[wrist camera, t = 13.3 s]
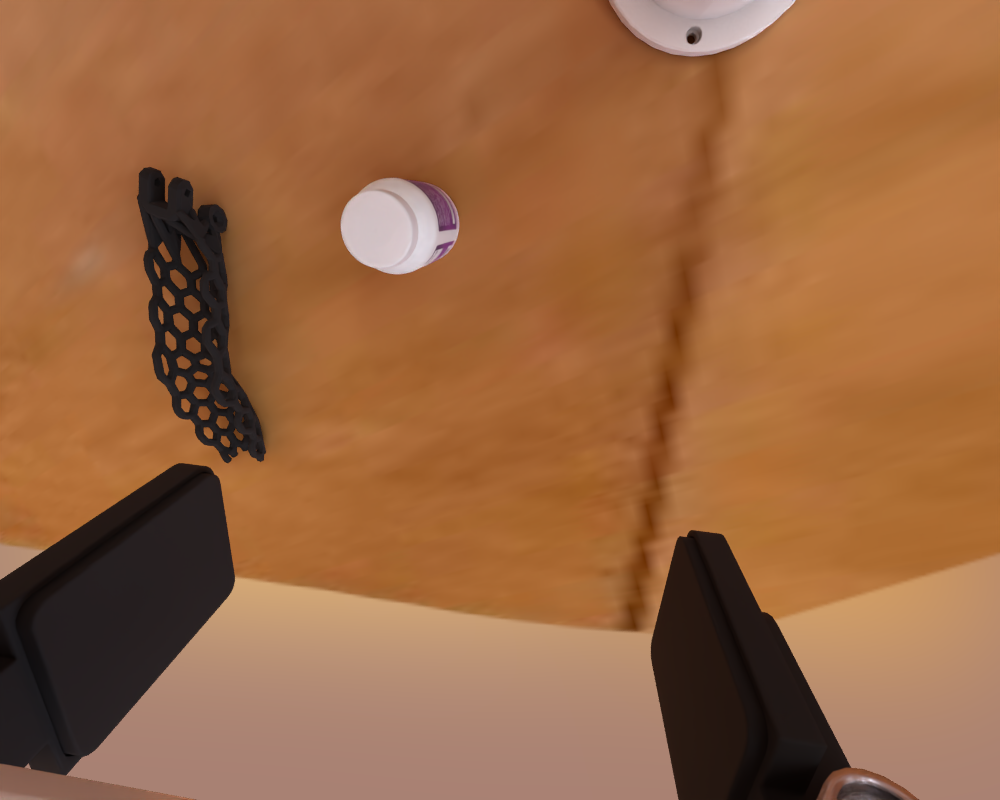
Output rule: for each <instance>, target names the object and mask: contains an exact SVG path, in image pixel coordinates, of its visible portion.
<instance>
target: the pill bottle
mask: <svg viewBox="0 0 1000 800" xmlns="http://www.w3.org/2000/svg"><path fill="white" fill-rule="evenodd" d="M458 232H459V217H458V212H457V209H456V207H455V205H454V203H453V201H452V200H451V199H450V197H449V196H448V195H447V194H446V193H445V192H444V191H443V190H442V189H440V188H439V187H437V186H435V185H432V184H429V183H425V182H420V181H413V180H405V179H400V178H384V179H380V180H377V181H374V182H372V183H370V184H368V185H367V186H366V187H364V188H363V189H362V190H361V191H360V192H359V193H358V194H357V195H355V196H354V197H353V198H352V199H351V200H350V201H349V202H348V203H347V205H346V206H345V208H344V211H343V214H342V217H341V233H342V238H343V241H344V243H345V245H346V247H347V249H348V250H349V252H350V253H351V254H352V255H353V256H354V257H355V258H356V259H357V260H358V261H359V262H361V263H363V264H364V265H367V266H369V267H372V268H375V269H377V270H379V271H382V272H385V273H389V274H405V273H410V272H413V271H415V270H417V269H419V268H421V267H423V266H426V265H428V264H430V263H432V262H434V261H436V260H438V259H440V258H442V257H443V256H445V255H446V254H447V253H448V252H449V251H450V250H451V248H452V247H453V245H454V244H455V242H456V239H457V236H458Z"/></svg>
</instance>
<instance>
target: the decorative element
mask: <svg viewBox="0 0 1000 800" xmlns="http://www.w3.org/2000/svg"><path fill="white" fill-rule="evenodd" d="M137 199H138V204H139V208H140V212H141V216H142V220H143V224H144V228H145V232H146V236H147V240H148V250H147V251H145V255H144V267H145V271H146V273H147V275H148V278H149V280H150V282H151V284H152V291H153V296H152V298H151V300H150V301H149V306H148V309H149V320H150V322H151V324H152V326H153V328H154V330H155V347H154V350H153V353H152V359H153V365H154V370H155V374H156V376H157V379H158V380H159V381H161V382H162V383H163V384H164V385H166V387H167V389H168V391H169V392H170V394H171V396H172V407H173V410H174V412H175V414H176V415H177V416H178V417H179V418H181V419H191V421H192V422H193V423H194V425H195V433H196V436H197V438H198V439H199V440H200V441H201V442H202V443H203V444H204V445H208V446H214V447H215V448H216V449H217V450H218V451H219V453H220V455H221V457H222V459H223V461H224V462H226V463H229V462H230V461H231V459H232V458H230V457H229V455H231V456H232V457H236V456H237V455H238V453H237V447H240V448H241V449H242V450H243V451H247V450H248V451H249V453H250V455H251V457H253V458H256V459H257V461H260V462H261V461H263V460H264V454H265V453H266V449H265V445H264V441H263V436H262V431H261V427H260V423H259V420H258V418H257V415H256V413H255V411H254V409H253V407H252V405H251V403H250V402H249V400H248V397H247V395H246V393H245V392H244V390H243V389H242V387H241V386H240V385H239V383H238V382H237V381H236V379H235V378H234V377H233V375H232V374H231V367H230V359H229V353H228V348H227V347H228V333H229V311H228V304H227V287H228V283H227V274H226V268H225V262H224V257H223V253H222V245H221V236H220V233H223V232H224V231H226V227H227V219H226V216H225V213H224V210H223V209H221V208H220V207H219V206H218V205H217V204H215V205H201V206H200V208H199V209H198V216H197V214H196V212H195V210H194V209H193V188H192V186H191V184H190V182H189V181H187V180H184V179H181V178H179V177H176V178H173V179H172V181H171V182H170V184H169V186H168V203H167V202H166V201H165V178H164V176H163V175H162V173H161V171H159V170H157V169H154V168H152V167H148V168H144V169H143V170H142V171H141V172H140V173H139V195H138V196H137ZM181 235H182V237H183V239H184V240H185V242H186V244H187V246H188V248H189V250H190V251H191V253H192V255H193V257H194V259H195V260H196V262H197V264H198V270H196V271H194V272H192V273H191V272H190V271H189V270H188V269H187V268H186V267H185V266H184V265H183V264H182V262H181V257H180V250H181ZM193 240H194V241H196V242H197V245H198V247H199V249H200V250H201V251H202V253H203V254H204V255H205V257H206V258H207V260H208V264H209V271H208V270H207V265H206V263H205V261H204V259H203V257H202V256H201V254H200V252H199V250H198V248H197V246H196V245H195V243H194V241H193ZM162 242H164V244H165V246H166V248H167V250H168V252H169V254H170V256H171V257H172V259H173V260H172V261H171V262H167V263H166V261H165V260H164V258H163V256H162V255H161V253H160V252H159V250H158V246H159V245H160V244H161V243H162ZM153 259H154V260H155V262H156V263H157V265H158V266H159V267H160V275H161V278H160V279H159V277H158V275H157V273H156V271H155V269H154V261H153ZM174 269H176V270H177V271H178V272H179V273H181V274H182V275H183V276H184V277H185V278H186V280H187V288H184V289H182V290H180V289H179V288H178V287H177V286H176V285H175V284H174V283H173V282H172V280H171V278H170V270H174ZM199 278H201V279H200V291H199V290H197V289H196V280H197V279H199ZM209 285H210V291H209ZM163 286H165V287H166V288H167V289H168V290H169V291H170V292H171V293H172V294H173V295H174V297H175V305H174V306H170V307H169V305H168V304H167V302H166V301H165V300H164V298H163V294H162V287H163ZM189 295H192V296H193V297H195V298H196V299H197V300H198V301H199V302H200V311H199V312H197V313H195V314H193V313H192V312H191V311H189V310H188V309H187V308H186V307H185V305H184V297H186V296H189ZM215 298H216V299H215ZM216 300H217V301H216ZM158 306H159V307H160V309H161V310H162V311H163V318H164V324H161V322H160V320H159V318H158ZM209 306H210V307H211V312H210V311H209ZM179 312H180V313H181V314H182V315H183V316H184V317H185V318H186V319H188V320H189V330H188V331H185V332H183V333H181V332H180V330H179V329H178V328H177V327H176V326H175V325H174V320H173V315H174V314H176V313H179ZM203 318H206V319H207V320H208V321H206V322H205V324H204V326H203V327H202V334H201V333H200V332H199V331H198V321H200V320H202V319H203ZM167 331H169V332H170V333H171V334H172V335H173V336H174V337H175V339H176V349H175V350H174V351H171V350H170V349H169V348H168V347H167V345H166V344H165V332H167ZM192 337H194V338H195V339H196V340H198V341H199V342H200V343H201V352H198V353H196V354H194V353H192V352H190V351H189V350H187V349H186V340H188V339H190V338H192ZM214 339H216V341H217V347H216V346H215V345H214V344H213V342H212V341H213V340H214ZM162 354H163V355H164V356H165V358H166V360H167V364H168V368H169V372H168V375H165V373H164V368H163V363H162V358H161V355H162ZM180 356H184V357H185V358H187V359H188V360H190V362H191V366H190V367H189V368H188V369H186V370H185V369H182V368H178V365H177V361H176V359H177V358H178V357H180ZM204 358H206V359H208V360H210V361H211V363H212V364H211V365H210V366H207V365H203V364H200V360H202V359H204ZM197 371H200V372H203V373H206V374H207V375H208V377H207V379H205V380H202V379H195V378H194V376H193V374H195V373H196V372H197ZM177 375H178V376H182V377H184V378H185V379H186V380H187V382H188V384H187V387H186V389H185V390H184V391H180V392H179V390H178V388H177V387H176V385H175V380H176V377H177ZM221 383H222V384H224V385H225V386H226V387H227V389H228V390H229V391H228V392H225V391H222V390H219V387H220V384H221ZM196 387H205V388H207V390H208V391H209V392H210V394H209V396H208V397H207V399H197V398H196V396H195V395H194V394H193V392H194V390H195V388H196ZM181 399H187V400H188V401H189V402H190V403H191V405H190V410H189V412H184V410H183V409H182V408H181ZM225 399H226V400H225ZM238 399H239V400H240V401H241V404H240V403H239V401H238ZM215 400H216V401H217V403H218V404H220V405H222V406H223V407H228V408H227V409H220V408H217V406H216V405H215V404H214V402H215ZM199 406H207V407H208V409H209V410H210V412H211V414H210V417H209V419H208V420H201V419H200V418H199V416H198V415H197V414H198V409H199ZM234 411H235V416H234V414H233V413H234ZM218 416H226V418H227V420H228V421H229V425H228V427H227V429H221V428H219V426H218V425H217V424H216V421H217V418H218ZM243 417H244V422H242V418H243ZM203 427H210V429H211V430H212V431H213V439H208V438H207V437H206V436H205V435H204V430H203ZM235 428H236V429H237V431H238V432H239V433H241V434H243V436H244V438H243V440H242V441H241V440H238V439H237V438H236V436H235V434H234V433H233V432H234V430H235ZM221 436H227V438H228V439H229V441H230V447H229V448H228V447H226V446H224V445H223V444H222V443H221V442H220V441H221ZM256 450H257V451H256ZM228 454H229V455H228Z"/></svg>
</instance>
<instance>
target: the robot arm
mask: <svg viewBox="0 0 1000 800" xmlns="http://www.w3.org/2000/svg"><path fill="white" fill-rule="evenodd" d="M795 1H796V0H609V2H610V4H611V6H612V7H613V9H614V11H615V12H616V14H617V15H618V17H619V18H620V20H621V22H622V23H623V24H624V25H625V26H626V27H627V28H628V29H629V30H630V31H631V32H632V33H633V34H634V35H635V36H636V37H637V38H639V39H641V40H642V41H644V42H645V43H647V44H648V45H650V46H651V47H653V48H656V49H659V50H661V51H664V52H667V53H670V54H674V55H683V56H692V57H693V56H702V55H711V54H716V53H719V52H722V51H725V50H728V49H731V48H734V47H736V46H738V45H740V44H742V43H744V42H746V41H748V40H749V39H751V38H753V37H755V36H756V35H758V34H759V33H760V32H762V31H763V30H764V29H765V28H767V27H768V26H769V25H771V24H772V23H773V22H774V21H776V20H777V19H778V18H779V17H780V16H781V15H782V14H783V13H784V12H785V11H786V10H787V9H788V8H789V7H790V6H791V5H792V4H793V3H794V2H795ZM690 35H691V36H693V37H694V40H695V41H694V43H693V44H689V43H688V42H687V37H688V36H690ZM234 582H235V575H234V568H233V562H232V555H231V549H230V542H229V536H228V529H227V523H226V516H225V510H224V504H223V497H222V491H221V484H220V480H219V478H218V476H216V475H214V473H213V471H212V470H211V468H209V467H207V466H200V465H192V464H184V463H178V464H176V465H174V466H172V467H171V468H169V469H168V470H166V471H165V472H163V473H162V474H160V475H159V476H157V477H156V478H154V479H153V480H151V481H150V482H148V483H147V484H145V485H143V486H142V487H140V488H139V489H137V490H136V491H134V492H133V493H131V494H130V495H128V496H127V497H125V498H124V499H122V500H121V501H119V502H118V503H116V504H115V505H113V506H112V507H110V508H109V509H107V510H106V511H104V512H103V513H101V514H99V515H98V516H96V517H95V518H93V519H92V520H90V521H89V522H87V523H86V524H84V525H83V526H81V527H80V528H78V529H77V530H75V531H74V532H72V533H71V534H69V535H68V536H66V537H65V538H63V539H62V540H60V541H59V542H57V543H55V544H54V545H52V546H51V547H49V548H48V549H46V550H45V551H43V552H42V553H40V554H39V555H37V556H36V557H34V558H33V559H31V560H30V561H28V562H27V563H25V564H24V565H22V566H21V567H19V568H18V569H16V570H15V571H13V572H11V573H10V574H8V575H7V576H5V577H4V578H2V579H1V580H0V800H194V799H189V798H184V797H179V796H173V795H168V794H163V793H158V792H152V791H147V790H141V789H136V788H131V787H125V786H120V785H114V784H109V783H103V782H97V781H92V780H87V779H81V778H77V777H71V776H66V775H67V774H68V772H69V771H70V770H71V769H72V768H73V767H74V766H75V764H76V763H77V762H78V761H79V760H80V759H81V758H82V757H84V756H87V755H89V754H90V753H92V752H93V751H95V750H96V749H97V748H98V747H99V745H100V744H101V743H102V742H103V741H104V740H105V739H106V737H107V736H108V735H109V734H110V733H111V731H112V730H113V729H114V728H115V727H116V726H117V725H118V724H119V722H120V721H121V720H122V719H123V718H124V717H125V715H126V714H127V713H128V712H129V710H131V708H132V707H133V706H134V705H135V704H136V703H137V702H138V700H139V699H140V698H141V697H142V696H143V695H144V693H145V692H146V691H147V690H148V689H149V688H150V686H151V685H152V684H153V683H154V682H155V681H156V680H157V678H158V677H159V676H160V675H161V674H162V673H163V671H164V670H165V669H166V668H167V667H168V666H169V664H170V663H171V662H172V661H173V660H174V659H175V658H176V656H177V655H178V654H179V653H180V652H181V651H182V649H183V648H184V647H185V646H186V645H187V643H188V642H189V641H190V640H191V639H192V638H193V637H194V636H195V634H196V633H197V632H198V631H199V630H200V629H201V627H202V626H203V625H204V624H205V623H206V622H207V621H208V619H209V618H210V617H211V616H212V615H213V614H214V612H215V611H216V610H217V609H218V608H219V607H220V605H221V604H222V603H223V602H224V601H225V600H226V599H227V597H228V596H229V595H230V593H231V591H232V589H233V586H234ZM651 660H652V666H653V671H654V676H655V681H656V686H657V691H658V697H659V702H660V707H661V712H662V716H663V722H664V727H665V732H666V738H667V743H668V748H669V753H670V758H671V763H672V768H673V773H674V779H675V784H676V789H677V794H678V799H679V800H919V799H917V798H916V797H915V796H913V795H912V794H911V793H910V792H908V791H907V790H906V789H905V788H903V787H901V786H900V785H898V784H896V783H894V782H893V781H891V780H889V779H887V778H886V777H884V776H881V775H879V774H876V773H873V772H870V771H867V770H864V769H857V768H851V767H850V765H849V763H848V761H847V759H846V757H845V755H844V753H843V751H842V749H841V747H840V745H839V743H838V741H837V739H836V737H835V736H834V734H833V732H832V730H831V728H830V726H829V724H828V722H827V720H826V718H825V716H824V714H823V712H822V710H821V709H820V706H819V705H818V703H817V701H816V699H815V697H814V695H813V693H812V691H811V689H810V687H809V685H808V683H807V681H806V679H805V677H804V675H803V673H802V671H801V670H800V668H799V666H798V664H797V662H796V660H795V658H794V656H793V654H792V652H791V650H790V648H789V646H788V644H787V642H786V640H785V638H784V636H783V635H782V633H781V631H780V629H779V627H778V625H777V623H776V622H775V620H774V619H773V617H772V616H771V615H769V614H768V613H765V612H761V610H760V608H759V606H758V604H757V602H756V600H755V598H754V596H753V594H752V592H751V590H750V588H749V586H748V584H747V582H746V579H745V577H744V575H743V573H742V571H741V569H740V567H739V565H738V563H737V561H736V559H735V557H734V555H733V553H732V551H731V549H730V547H729V545H728V543H727V541H726V539H725V537H724V536H723V535H722V534H717V533H710V532H702V531H694V530H691V531H689V533H688V535H687V537H681V536H680V537H679V538H678V539H677V542H676V545H675V549H674V553H673V557H672V561H671V565H670V569H669V573H668V577H667V581H666V585H665V589H664V593H663V597H662V601H661V605H660V609H659V613H658V617H657V621H656V625H655V629H654V633H653V637H652V643H651ZM28 763H29V765H30V767H31V769H28V768H24V767H25V766H26V765H27V764H28Z"/></svg>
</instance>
